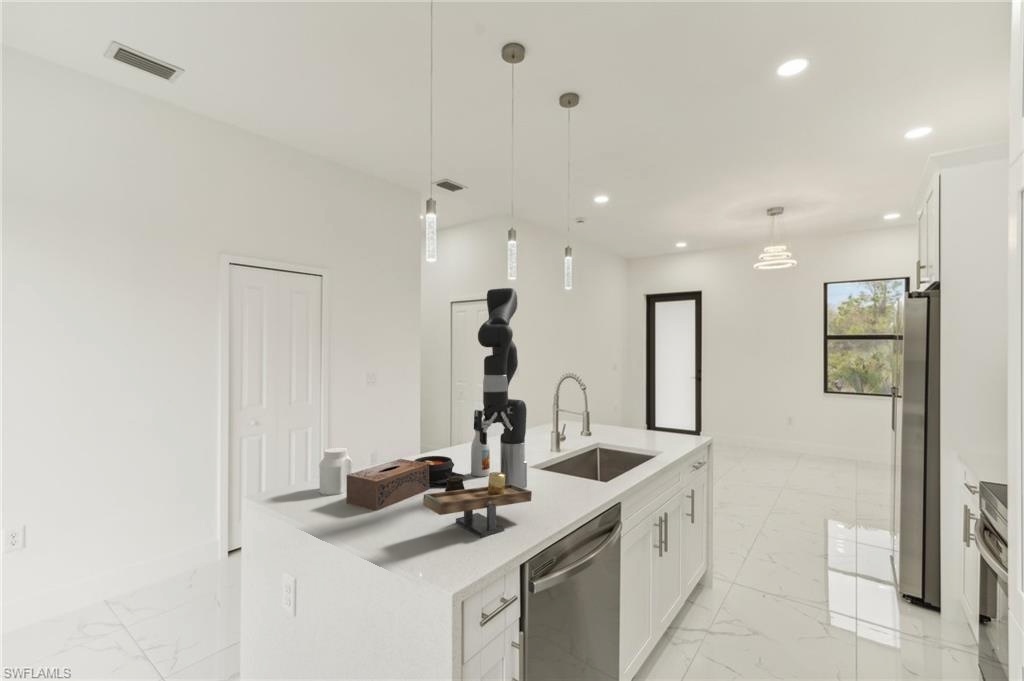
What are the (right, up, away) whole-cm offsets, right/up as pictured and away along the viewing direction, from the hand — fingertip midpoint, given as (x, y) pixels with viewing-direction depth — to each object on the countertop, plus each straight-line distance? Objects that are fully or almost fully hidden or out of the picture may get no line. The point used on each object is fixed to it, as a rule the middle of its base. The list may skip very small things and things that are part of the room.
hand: (495, 442), depth 142 cm
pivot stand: (-5, -24, -4) cm, 25 cm away
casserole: (-26, -25, +42) cm, 56 cm away
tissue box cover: (-39, -25, +24) cm, 52 cm away
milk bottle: (-8, -25, +52) cm, 58 cm away
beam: (-5, -16, -4) cm, 17 cm away
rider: (0, -16, 0) cm, 16 cm away
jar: (-61, -25, +31) cm, 73 cm away
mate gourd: (-15, -25, +18) cm, 34 cm away
